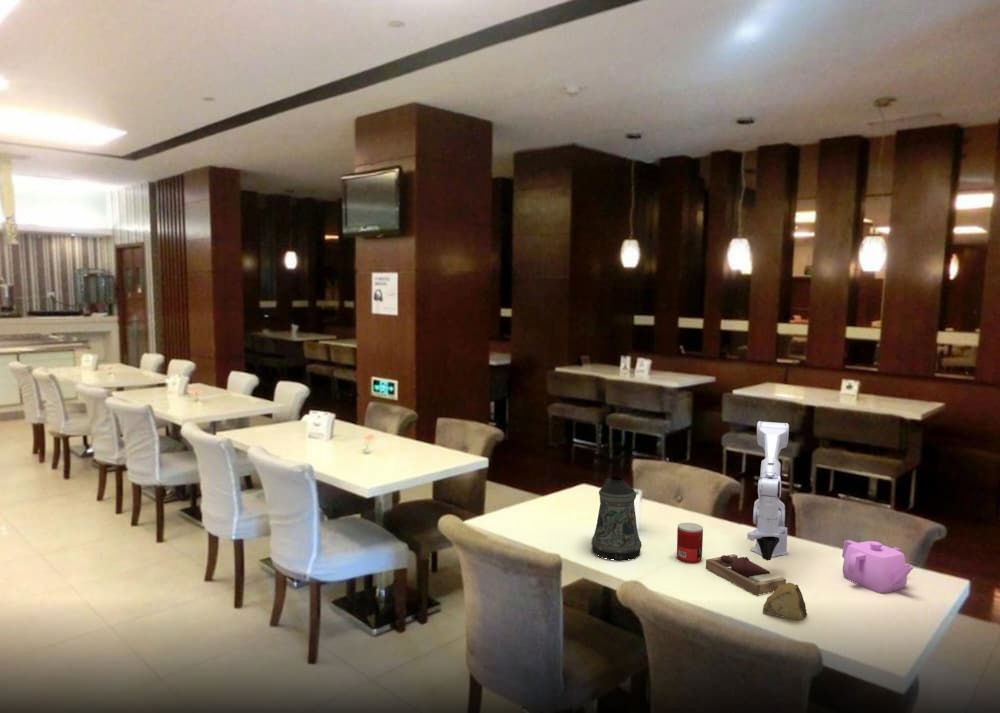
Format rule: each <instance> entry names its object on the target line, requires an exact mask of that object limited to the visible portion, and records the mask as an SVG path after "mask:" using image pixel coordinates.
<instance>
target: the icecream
mask: <svg viewBox="0 0 1000 713" xmlns="http://www.w3.org/2000/svg"><path fill="white" fill-rule="evenodd" d="M720 557H721V560H722V561H723V562H724V563H727V564H731V566H730V567H728V568H729V569H731V570H733V571H734V572H736V573H738V574H740V575H742V576H744V577H746V578H748V579H750V577H757V576H762V575H769V574H771V571H769V570H768V569H766V568H764V567H762V566H761V565H759V564H757V563H754V562H753V561H751V560H750V559H749V557H748V556H745V557H744V556H741V557H738V558H736V559H734V560H733V559H732V558H730V556H727V555H725V554H724V555H723V554H722V555H721V556H720Z"/></svg>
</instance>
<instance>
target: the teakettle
mask: <svg viewBox="0 0 1000 713" xmlns="http://www.w3.org/2000/svg"><path fill="white" fill-rule="evenodd" d="M841 557H842V559H843V563H842V574H843V577H844V578H845V579H846V578H847V579H846V580H848V579H849V580H848V581H850V580H851V581H850V582H852V581H853V582H852V583H854V582H855V584H856V583H857V584H856V585H858V584H859V585H858V586H860V585H861V587H862V586H863V587H862V588H866V589H867V588H868V589H867V590H870V589H871V590H870V591H872V590H873V592H875V591H876V593H878V592H879V594H886V593H885V592H887V593H890V591H892V592H895V590H896V591H899V590H898V589H900V590H903V589H905V587H906V585H907V582H908V575H909V574H910V573H911V571H912V570H913V569H914V566H913V565H911V564H910V563H906V558H905V554H904V553H903V552H902V548H899V547H896V546H894V547H889V546H887V545H883V543H881V542H879V541H874V540H873V541H872V540H868V541H860V542H856V541H853V540H851V539H847V540H844V542H843V548H842V556H841ZM902 588H903V589H902Z"/></svg>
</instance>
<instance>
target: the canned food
mask: <svg viewBox="0 0 1000 713" xmlns="http://www.w3.org/2000/svg"><path fill="white" fill-rule="evenodd" d="M676 533H677V534H676V535H677V536H676V537H677V538H676V557H677V559H678V560H679V561H680V562H683V563H687V564H697V563H700V562H701V561H702V559H703V543H704V542H703V539H704V538H703V536H704V529H703V526H702V525H700V524H698V523H694V522H679V523H678V524H677V531H676Z"/></svg>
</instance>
